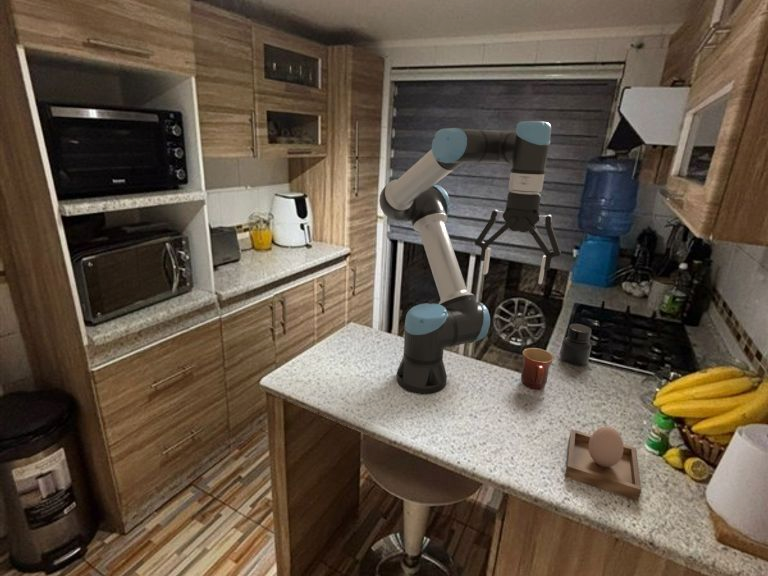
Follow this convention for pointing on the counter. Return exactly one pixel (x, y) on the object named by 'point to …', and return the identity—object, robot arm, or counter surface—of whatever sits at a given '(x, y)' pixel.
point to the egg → (606, 446)
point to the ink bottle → (576, 345)
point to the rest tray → (603, 468)
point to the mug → (535, 368)
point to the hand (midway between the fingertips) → (512, 277)
